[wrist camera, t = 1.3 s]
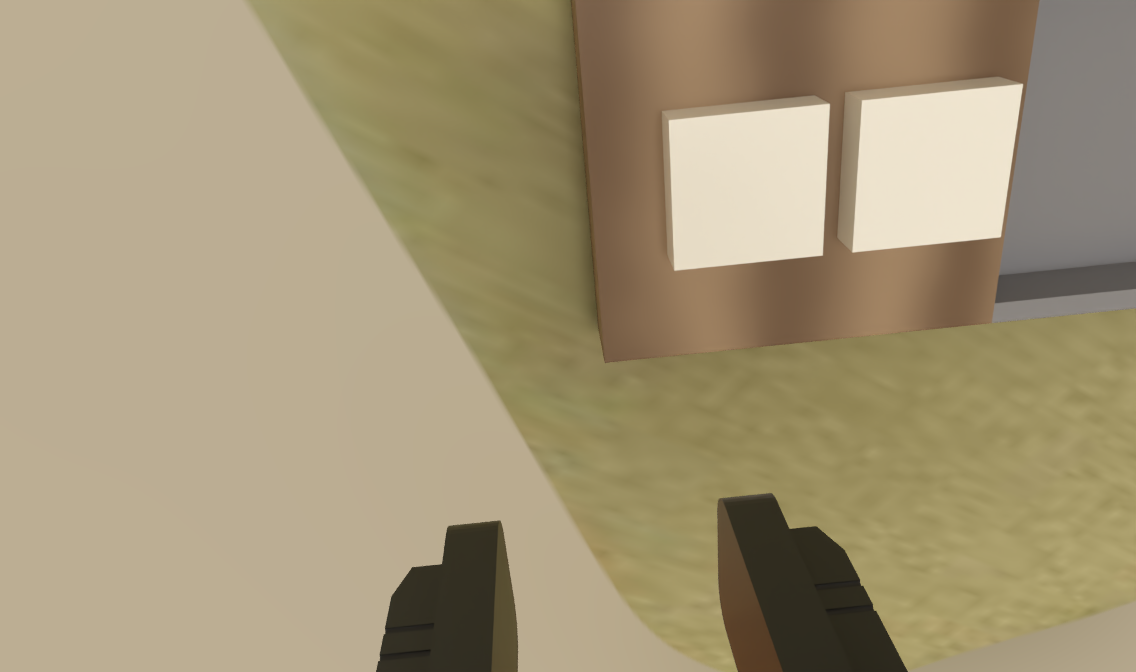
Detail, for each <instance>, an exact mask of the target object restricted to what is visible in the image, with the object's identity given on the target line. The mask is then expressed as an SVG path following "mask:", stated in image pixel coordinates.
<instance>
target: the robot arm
mask: <svg viewBox="0 0 1136 672" xmlns="http://www.w3.org/2000/svg"><path fill="white" fill-rule="evenodd" d="M717 518H718V582H719V595H720V603H721V609H722V615H723V620H724V624H725V628H726V632H727V636H728V639H729V642H730V646H731V649H732V653H733V656H734V660H735V663H736V667H737V670H738V672H908V671H907V669H906V667H905V666H904V664H903V662H902V660H901V658H900V656H899V654H898V652H897V650H896V648H895V646H894V644H893V642H892V641H891V639H890V637H889V635H888V633H887V631H886V629H885V627H884V625H883V623H882V621H881V619H880V617H879V615H878V614H877V612H876V611H874V609H873V604H872V602H871V600H870V598H869V596H868V594H867V592H866V590H865V589H864V587H863V586H861V584H860V579H859V577H858V575H857V573H856V571H855V569H854V567H853V565H852V564H851V562H850V560H849V558H848V556H847V554H846V552H845V550H844V549H843V548H841V547H840V546H839V545H838V544H837V543H835V542H834V541H833V540H832V539H831V538H829V537H828V536H827V535H826V534H825V533H824V532H822V531H821V530H820V529H819V528H818V527H816V526H815V527H805V528H795V529H789V527H788V525H787V523H786V520H785V518H784V516H783V514H782V511H781V509H780V507H779V505H778V502H777V500H776V498H775V497H774V495H773V494H772V493H768V494H758V495H749V496H739V497H729V498H720V499H719V501H718V508H717ZM385 631H386V632H385V634H384V636H383V641H382V646H381V651H380V661H378V666H377V670H376V672H518V636H517V621H516V611H515V603H514V596H513V590H512V584H511V578H510V571H509V565H508V559H507V552H506V546H505V539H504V533H503V528H502V524H501V521H491V522H482V523H472V524H463V525H453V526H449V527H448V528H447V533H446V539H445V546H444V555H443V562H442V564H441V565H431V566H423V567H412V568H411V570H410V571H409V573H408V574H407V576H406V577H405V578H404V580H403V581H402V582H401V584H400V585H399V587H398V588H397V590H396V591H395V592H394V594H393V595H392V597H391V602H390V606H389V612H388V617H387V621H386V626H385Z"/></svg>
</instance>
